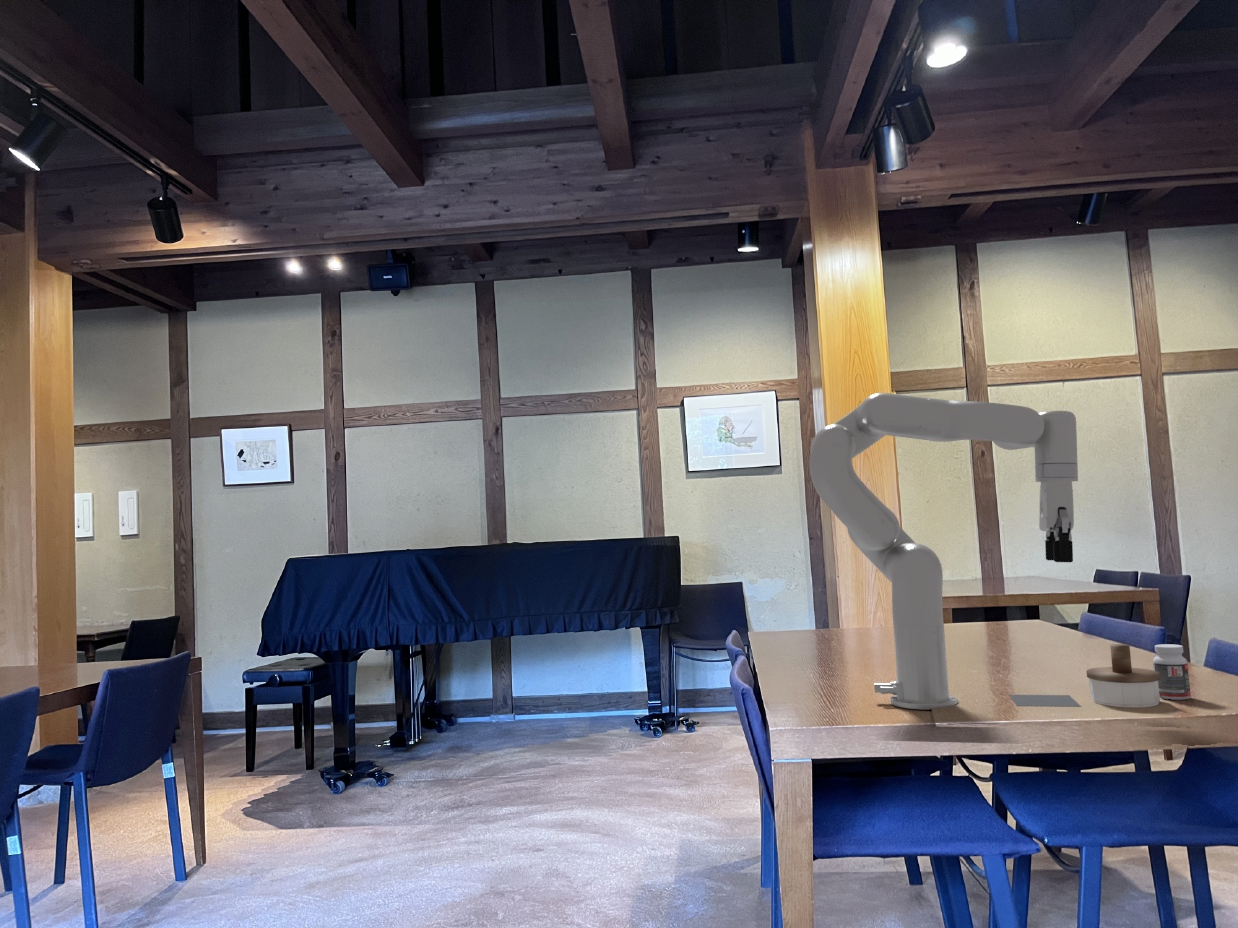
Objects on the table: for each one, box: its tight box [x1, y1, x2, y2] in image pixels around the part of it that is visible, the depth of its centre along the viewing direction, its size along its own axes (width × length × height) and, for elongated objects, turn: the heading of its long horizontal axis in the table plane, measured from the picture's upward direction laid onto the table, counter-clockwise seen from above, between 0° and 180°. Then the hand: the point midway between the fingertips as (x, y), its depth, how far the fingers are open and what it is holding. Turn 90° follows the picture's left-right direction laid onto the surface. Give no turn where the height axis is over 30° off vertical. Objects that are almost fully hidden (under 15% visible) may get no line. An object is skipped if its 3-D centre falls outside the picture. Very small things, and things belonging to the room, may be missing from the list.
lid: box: [1086, 643, 1160, 683], centre depth 167 cm, size 12×12×6 cm
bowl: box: [1088, 678, 1161, 708], centre depth 166 cm, size 11×11×5 cm
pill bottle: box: [1152, 643, 1192, 701], centre depth 170 cm, size 6×6×10 cm
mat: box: [1008, 694, 1082, 708], centre depth 170 cm, size 11×11×1 cm
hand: (1058, 561), depth 173 cm, fingers open, 9 cm apart
